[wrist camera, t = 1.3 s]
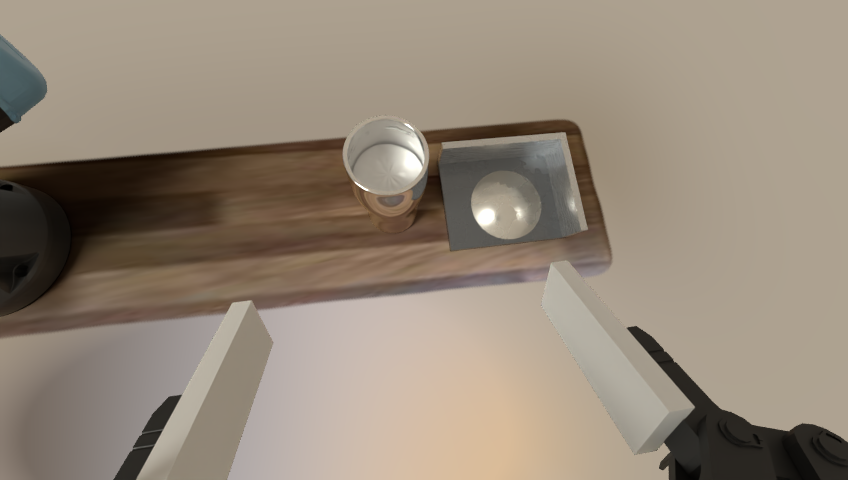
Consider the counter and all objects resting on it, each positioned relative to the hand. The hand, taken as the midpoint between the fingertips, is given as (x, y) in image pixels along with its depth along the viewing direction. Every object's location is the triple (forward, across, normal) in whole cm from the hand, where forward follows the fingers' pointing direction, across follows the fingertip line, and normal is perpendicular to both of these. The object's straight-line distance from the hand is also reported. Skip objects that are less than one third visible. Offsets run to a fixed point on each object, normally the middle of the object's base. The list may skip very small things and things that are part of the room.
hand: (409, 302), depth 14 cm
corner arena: (+24, +13, -8) cm, 28 cm away
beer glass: (+24, 0, -8) cm, 25 cm away
